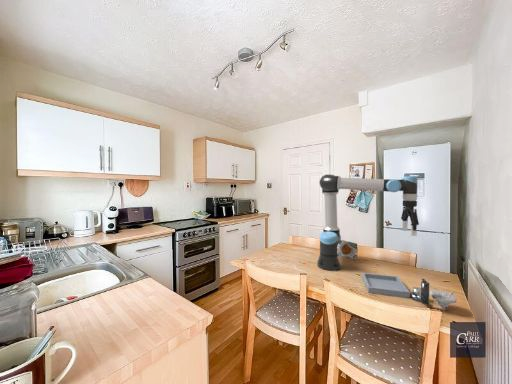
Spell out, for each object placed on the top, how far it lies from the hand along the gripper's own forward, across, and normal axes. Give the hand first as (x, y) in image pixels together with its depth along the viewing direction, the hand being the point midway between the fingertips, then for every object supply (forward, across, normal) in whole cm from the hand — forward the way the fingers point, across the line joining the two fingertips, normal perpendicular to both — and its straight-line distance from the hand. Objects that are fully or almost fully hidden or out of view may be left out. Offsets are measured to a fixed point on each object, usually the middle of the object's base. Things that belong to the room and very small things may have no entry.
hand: (409, 233), depth 138 cm
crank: (+24, -39, +9) cm, 47 cm away
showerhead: (+26, -41, +1) cm, 49 cm away
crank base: (+26, -35, +9) cm, 44 cm away
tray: (+26, -26, +21) cm, 42 cm away
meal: (+26, +18, +35) cm, 47 cm away
